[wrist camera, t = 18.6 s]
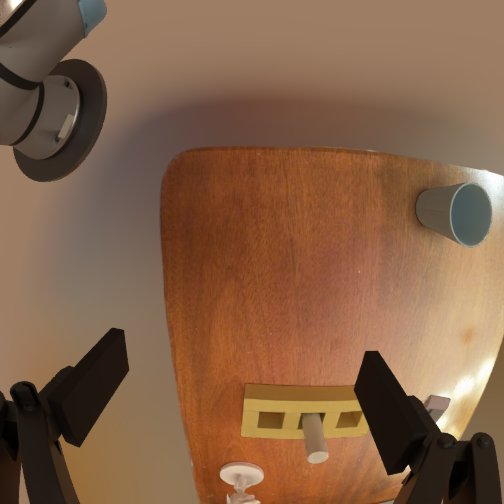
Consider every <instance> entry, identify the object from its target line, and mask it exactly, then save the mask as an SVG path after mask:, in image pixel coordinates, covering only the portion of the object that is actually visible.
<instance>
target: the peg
mask: <svg viewBox="0 0 504 504" xmlns="http://www.w3.org/2000/svg"><path fill="white" fill-rule="evenodd" d="M301 419H302V426H303V433H304V440H305V447H306V454H307V460H308V461H309V462H310V463H321V462H323V461H325V460H326V459H327V458H328V456H329V454H328V450H327V445H326V440H325V436H324V431H323V427H322V423H321V418H320V414H319V413H301Z"/></svg>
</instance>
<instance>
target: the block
mask: <svg viewBox="0 0 504 504" xmlns="http://www.w3.org/2000/svg"><path fill="white" fill-rule="evenodd" d="M354 387H355V386H280V385H262V384H248V383H246V384H245V394H244V405H243V417H242V429H241V436H244V437H258V438H282V439H304V433H303V426H302V419H301V413H319V414H320V418H321V423H322V427H323V431H324V436H325V438H336V437H350V436H361V435H366V434H367V432H368V430H369V426H368V424H367V421H366V419H365V416H364V414H363V412H362V409H361V407H360V404H359V402H358V400H357V397H356V395H355V393H354ZM260 411H263V412H281V413H260ZM350 411H352V413H341V412H350Z"/></svg>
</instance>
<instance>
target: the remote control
mask: <svg viewBox="0 0 504 504" xmlns="http://www.w3.org/2000/svg"><path fill="white" fill-rule="evenodd" d="M449 403H450V398H446V397H440V396H435V395H430V396H429V398H428V399H427V400H426V402H425V403H424V404H423V405H424V406H425V409H427V411H428V412H429V415H431V417H432V418H433V420H434V421H435V423H436V422H437V421H438V419H439V418H440V417H441V416H442V414H443V413H444V412H445V411H446V409H447V408H448V406H449Z"/></svg>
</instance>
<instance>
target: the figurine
mask: <svg viewBox="0 0 504 504" xmlns="http://www.w3.org/2000/svg"><path fill="white" fill-rule="evenodd" d="M220 477H221V478H222V480H224V481H225V482H227V483H229V484H231V485H234V489H236V491H237V493H238V494H237V493H234V494H232V495H231V496H230V498H229V496H228V494H227V504H260V501H257V500H255V499H254V497H255V496H254V495H248V494H247V493H245V494H244V491H245V489H246V488H248V487H250V486H253V485H256V484H258V483H260V482H261V481H262V480H263V478H264V472H263V470H262V469H261V468H260V467H259V466H257V465H255V464H252V463H248V462H232V463H228V464H226V465H224V466H223V467H222V468H221V470H220ZM245 486H246V487H245Z"/></svg>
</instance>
